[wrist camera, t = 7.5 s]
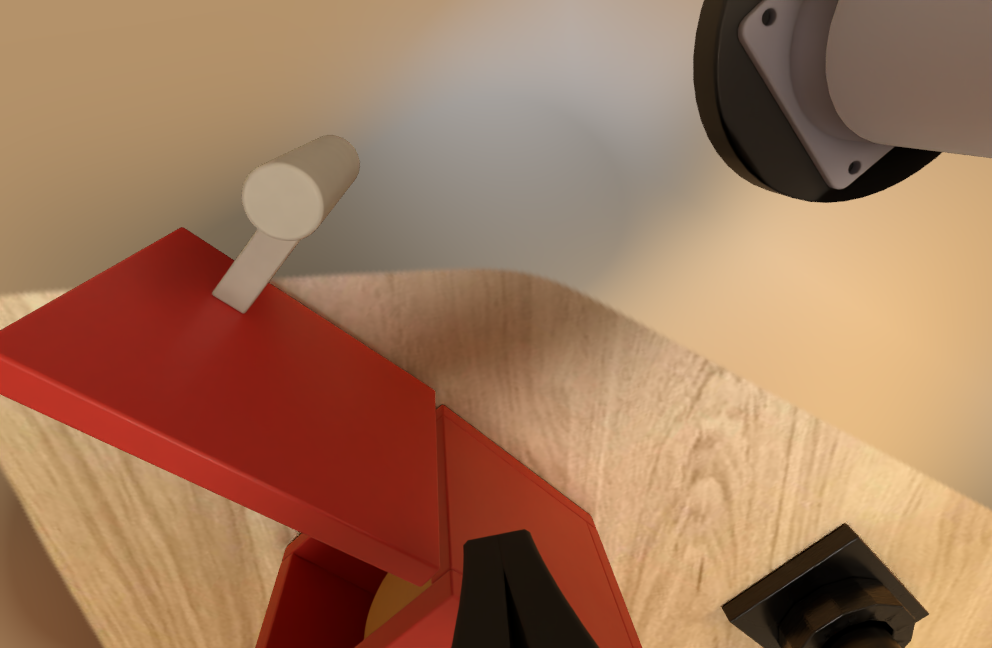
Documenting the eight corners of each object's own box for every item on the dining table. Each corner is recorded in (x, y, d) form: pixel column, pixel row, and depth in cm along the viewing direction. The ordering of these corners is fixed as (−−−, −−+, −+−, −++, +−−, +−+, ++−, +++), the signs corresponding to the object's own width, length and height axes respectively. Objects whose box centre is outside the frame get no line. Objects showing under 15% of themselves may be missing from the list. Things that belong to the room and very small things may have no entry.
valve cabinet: (285, 547, 22) (211, 786, 14) (442, 402, 20) (452, 595, 12) (444, 629, 26) (452, 855, 18) (592, 515, 24) (670, 717, 16)
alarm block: (845, 522, 26) (885, 564, 24) (916, 600, 30) (956, 641, 28) (721, 607, 28) (746, 652, 26) (803, 670, 32) (832, 714, 29)
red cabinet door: (281, 74, 14) (134, 61, 7) (534, 282, 18) (607, 414, 11) (169, 244, 16) (-46, 375, 9) (423, 404, 19) (421, 589, 12)
